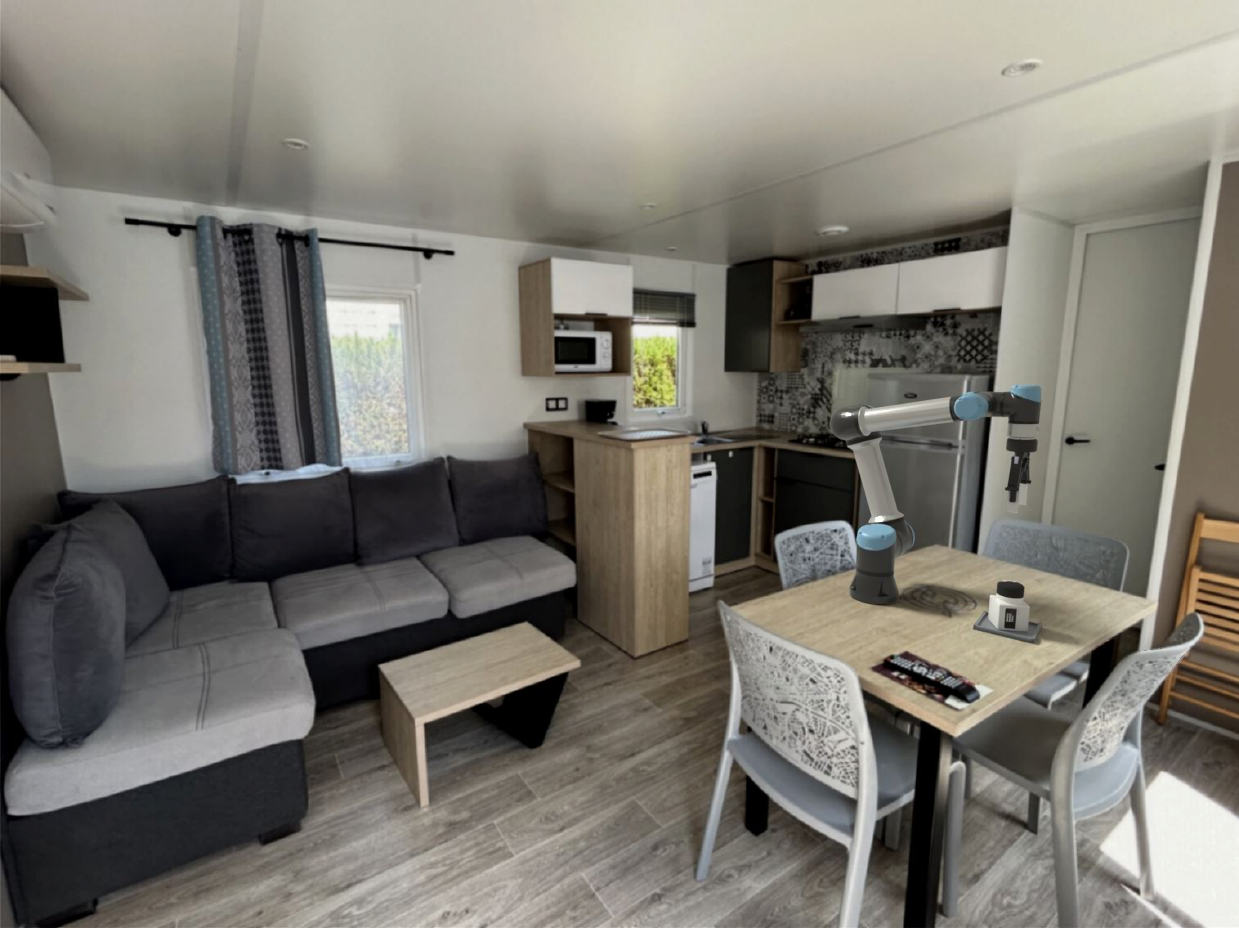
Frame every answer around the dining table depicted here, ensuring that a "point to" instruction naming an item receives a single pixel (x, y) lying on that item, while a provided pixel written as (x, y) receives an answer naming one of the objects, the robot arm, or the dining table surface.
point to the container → (1009, 607)
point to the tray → (988, 627)
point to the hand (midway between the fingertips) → (1016, 508)
